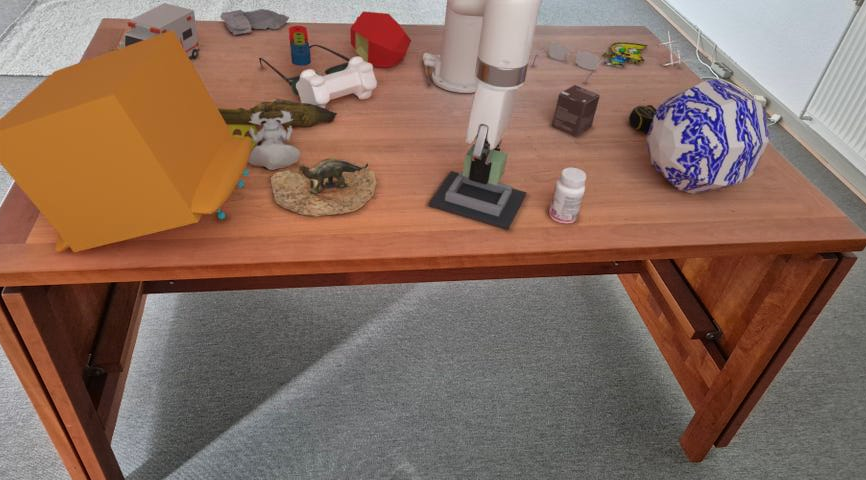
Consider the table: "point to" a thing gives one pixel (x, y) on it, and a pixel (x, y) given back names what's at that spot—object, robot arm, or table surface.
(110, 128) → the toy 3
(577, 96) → the box
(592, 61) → the eyeglasses
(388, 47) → the red angular block
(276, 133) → the figurine
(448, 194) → the base
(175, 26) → the toy vehicle
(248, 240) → the table surface
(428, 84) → the pen
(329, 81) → the dog bone
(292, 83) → the sunglasses
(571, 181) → the pill bottle
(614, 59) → the toy
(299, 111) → the olive long flat piece
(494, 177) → the green rectangular block
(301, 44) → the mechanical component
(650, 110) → the tape measure
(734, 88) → the ornament
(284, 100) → the circuit board
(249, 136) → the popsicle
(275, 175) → the dinosaur figurine
